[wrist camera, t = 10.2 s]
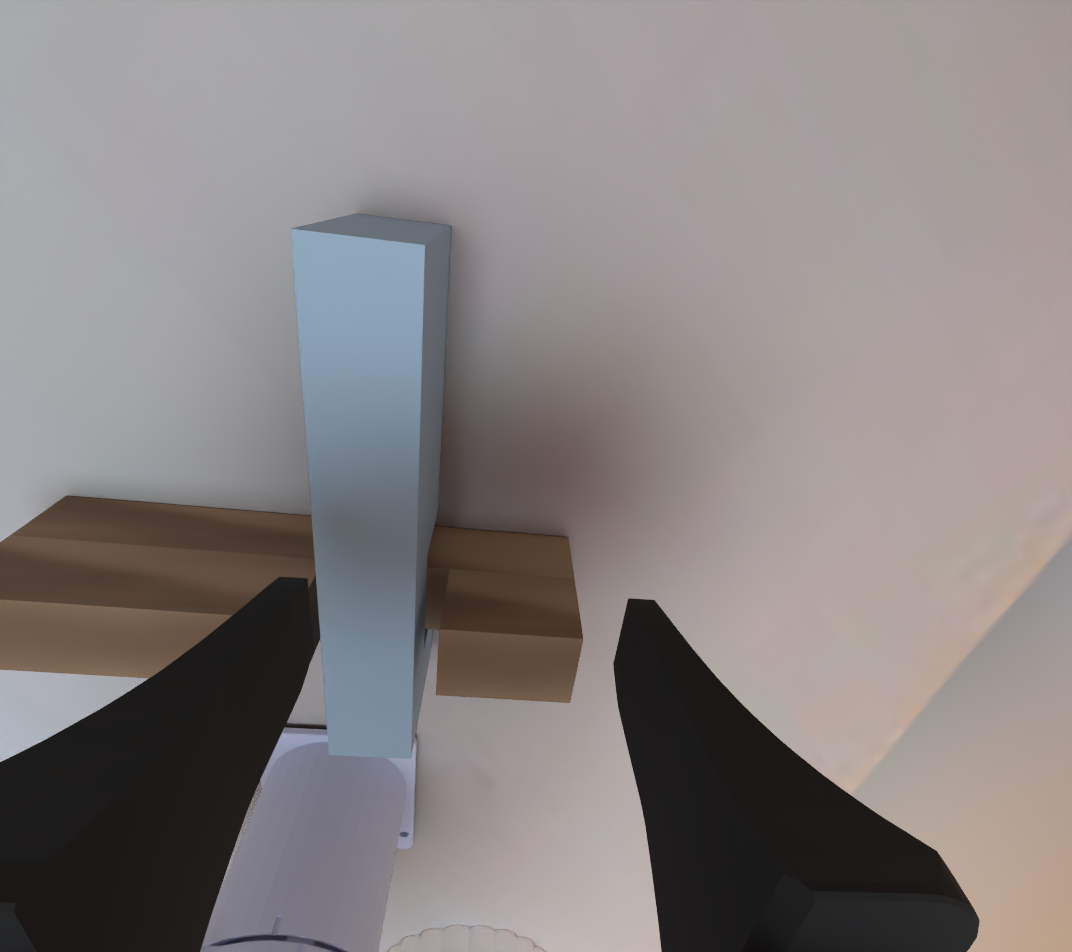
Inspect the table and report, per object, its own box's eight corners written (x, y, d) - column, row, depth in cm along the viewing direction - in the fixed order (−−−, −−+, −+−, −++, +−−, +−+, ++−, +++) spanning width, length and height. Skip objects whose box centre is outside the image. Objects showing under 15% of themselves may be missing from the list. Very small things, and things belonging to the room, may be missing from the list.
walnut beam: (558, 593, 25) (569, 702, 20) (84, 557, 24) (-39, 667, 19) (568, 537, 24) (583, 639, 19) (66, 495, 22) (-74, 594, 17)
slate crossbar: (432, 643, 27) (411, 758, 21) (366, 638, 26) (329, 754, 21) (451, 225, 18) (424, 245, 13) (356, 213, 18) (290, 228, 13)
